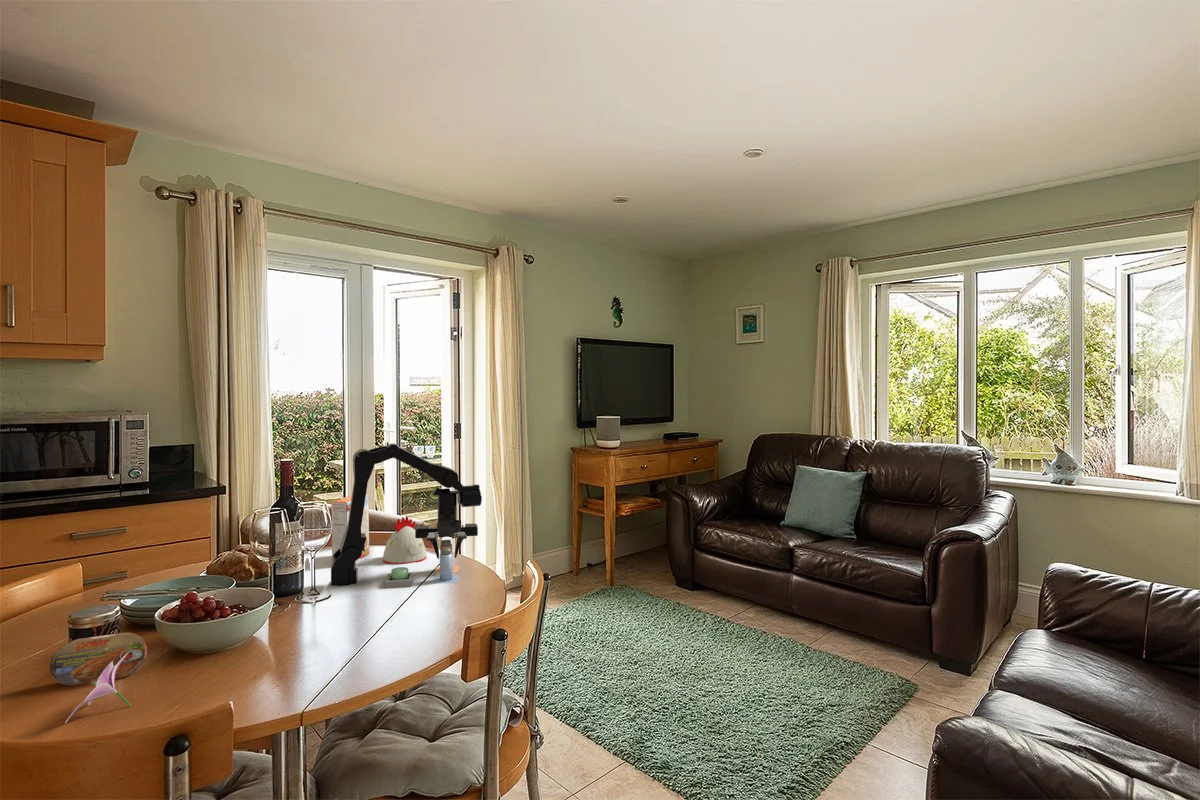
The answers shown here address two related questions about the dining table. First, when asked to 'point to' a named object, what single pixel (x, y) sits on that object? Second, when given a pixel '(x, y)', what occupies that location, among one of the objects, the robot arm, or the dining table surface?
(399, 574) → the button
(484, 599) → the dining table surface
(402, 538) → the kitchen timer
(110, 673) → the lily
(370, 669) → the dining table surface
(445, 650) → the dining table surface
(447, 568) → the blue bottle
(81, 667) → the tin
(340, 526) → the cracker box
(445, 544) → the terracotta marker
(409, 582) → the cream board with squares
